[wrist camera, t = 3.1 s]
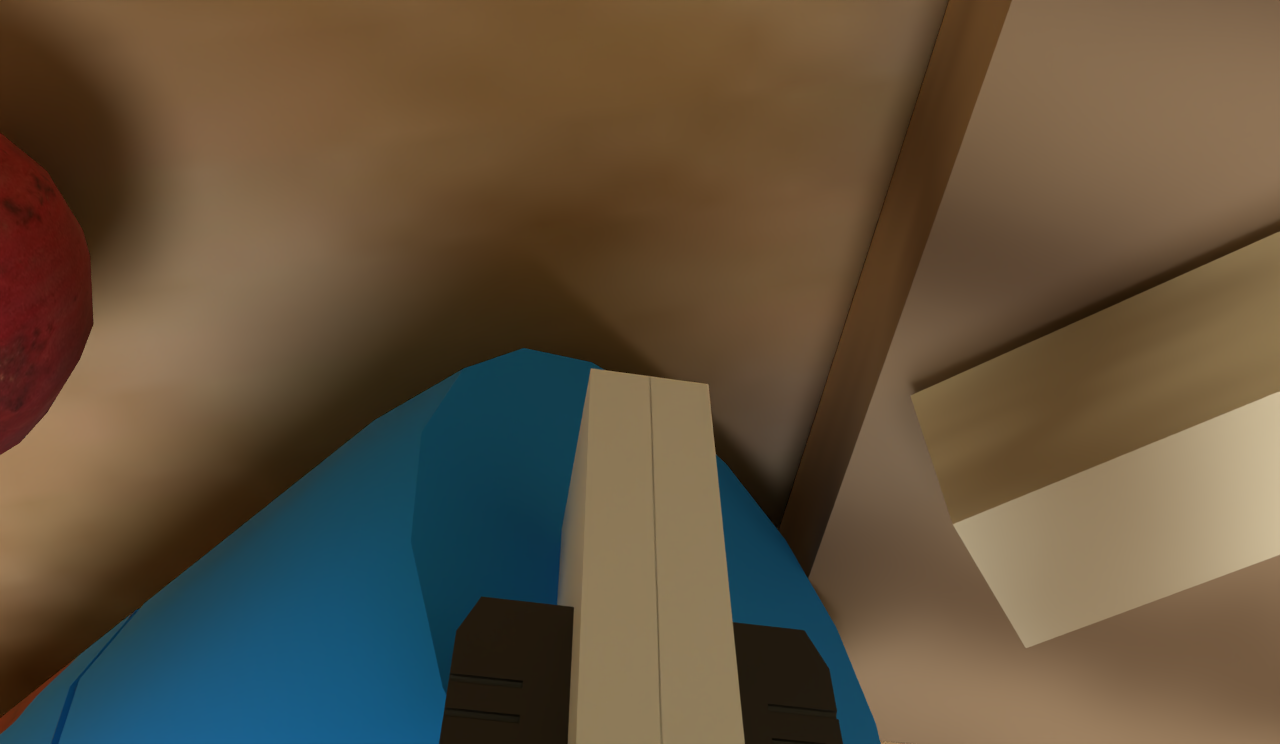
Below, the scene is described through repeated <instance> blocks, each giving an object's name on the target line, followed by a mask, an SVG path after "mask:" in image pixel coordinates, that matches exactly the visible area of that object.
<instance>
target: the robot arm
mask: <svg viewBox="0 0 1280 744" xmlns="http://www.w3.org/2000/svg"><path fill="white" fill-rule="evenodd" d="M836 714H837V708H836V702H835V697H834V691H833V686H832V680H831V675H830V669H829V668H828V666H827V664H826V663H825V661H824V660H823V658H822V657H821V655H820V654H819V652H818V651H817V649H816V647H815V646H814V644H813V643H812V641H811V640H810V638H809V637H808V635H807V634H806V632H805V630H798V629H790V628H781V627H772V626H763V625H754V624H745V623H737V622H733V621H732V612H731V602H730V592H729V582H728V572H727V562H726V552H725V542H724V532H723V522H722V512H721V502H720V493H719V483H718V473H717V463H716V453H715V443H714V433H713V423H712V413H711V403H710V393H709V384H704V383H697V382H689V381H682V380H674V379H667V378H659V377H652V376H645V375H637V374H630V373H622V372H615V371H607V370H600V369H592V368H591V370H590V376H589V381H588V387H587V392H586V398H585V403H584V409H583V414H582V420H581V425H580V431H579V437H578V442H577V448H576V453H575V459H574V464H573V470H572V475H571V481H570V486H569V492H568V498H567V503H566V509H565V514H564V520H563V525H562V534H561V550H560V566H559V582H558V598H557V605H553V604H544V603H535V602H526V601H517V600H508V599H499V598H490V597H482V596H481V598H480V599H479V600H478V602H477V603H476V604H475V606H474V607H473V609H472V610H471V611H470V613H469V614H468V615H467V617H466V618H465V620H464V621H463V622H462V624H461V625H460V626H459V628H458V629H457V630H456V635H455V642H454V648H453V655H452V661H451V668H450V675H449V681H448V688H447V694H446V701H445V707H444V714H443V720H442V727H441V733H440V740H439V744H843V741H842V735H841V730H840V724H839V719H837V718H836Z"/></svg>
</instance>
